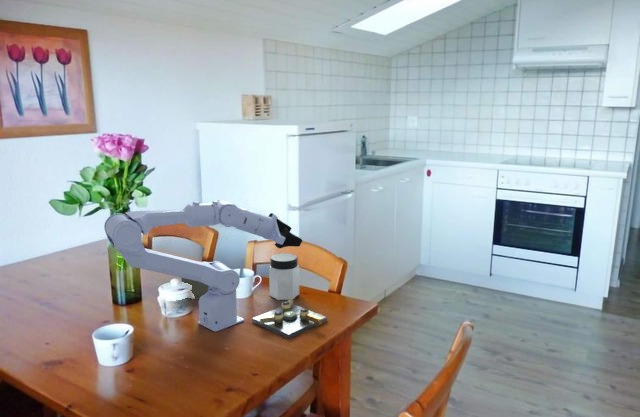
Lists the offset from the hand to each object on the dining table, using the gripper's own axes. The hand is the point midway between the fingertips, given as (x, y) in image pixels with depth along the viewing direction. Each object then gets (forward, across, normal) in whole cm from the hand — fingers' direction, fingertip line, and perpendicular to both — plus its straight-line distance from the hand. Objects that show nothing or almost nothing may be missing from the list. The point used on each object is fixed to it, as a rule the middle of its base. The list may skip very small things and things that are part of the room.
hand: (294, 236), depth 143 cm
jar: (+9, +3, +20) cm, 22 cm away
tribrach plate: (+1, -15, +18) cm, 24 cm away
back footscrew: (+3, -9, +17) cm, 20 cm away
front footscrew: (+4, -19, +15) cm, 24 cm away
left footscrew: (-4, -15, +19) cm, 25 cm away
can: (-10, +16, +32) cm, 37 cm away
